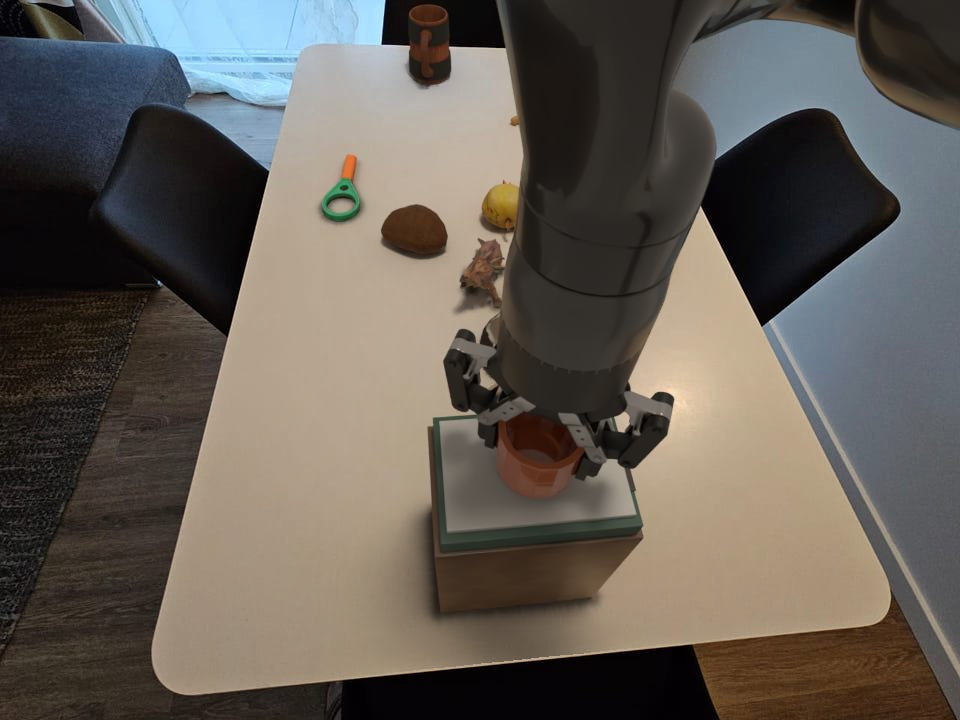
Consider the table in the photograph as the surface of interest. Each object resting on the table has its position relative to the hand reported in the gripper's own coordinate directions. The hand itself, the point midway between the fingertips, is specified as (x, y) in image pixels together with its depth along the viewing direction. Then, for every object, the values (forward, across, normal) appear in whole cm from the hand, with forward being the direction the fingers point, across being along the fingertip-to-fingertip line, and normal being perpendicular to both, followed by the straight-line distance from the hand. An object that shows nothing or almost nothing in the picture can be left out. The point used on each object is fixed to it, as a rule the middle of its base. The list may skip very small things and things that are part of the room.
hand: (537, 452), depth 42 cm
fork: (+25, -20, +84) cm, 90 cm away
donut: (+25, -7, +26) cm, 37 cm away
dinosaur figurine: (+25, -16, +36) cm, 47 cm away
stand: (+25, 0, 0) cm, 25 cm away
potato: (+25, -29, +40) cm, 55 cm away
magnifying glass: (+25, -45, +47) cm, 70 cm away
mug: (+25, -46, +85) cm, 100 cm away
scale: (+5, 0, 0) cm, 5 cm away
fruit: (+25, -18, +50) cm, 59 cm away
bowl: (+1, 0, 0) cm, 1 cm away
